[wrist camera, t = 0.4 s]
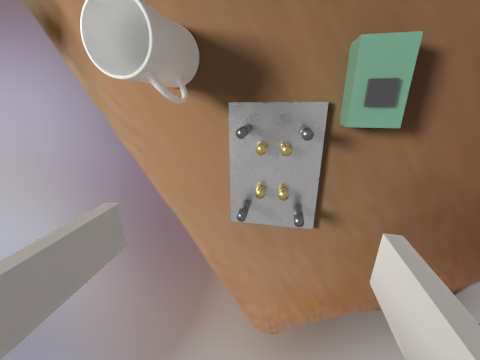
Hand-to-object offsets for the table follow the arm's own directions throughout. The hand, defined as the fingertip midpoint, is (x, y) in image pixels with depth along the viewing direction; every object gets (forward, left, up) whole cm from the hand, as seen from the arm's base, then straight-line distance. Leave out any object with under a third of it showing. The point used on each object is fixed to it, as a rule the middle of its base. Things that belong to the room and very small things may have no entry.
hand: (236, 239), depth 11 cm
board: (-8, +13, -26) cm, 30 cm away
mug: (-11, -14, -26) cm, 31 cm away
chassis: (+4, +1, -25) cm, 26 cm away
